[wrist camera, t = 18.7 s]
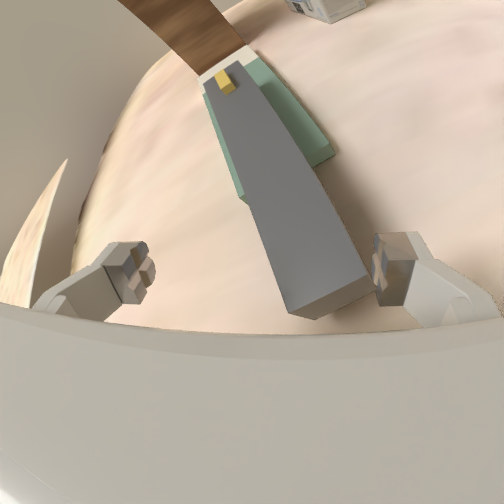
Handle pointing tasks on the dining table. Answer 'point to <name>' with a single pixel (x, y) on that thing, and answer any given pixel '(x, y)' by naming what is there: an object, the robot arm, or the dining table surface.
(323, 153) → the board
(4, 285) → the dining table surface
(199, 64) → the brown wooden block
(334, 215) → the grey rectangular bar
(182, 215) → the dining table surface
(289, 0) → the light bulb box
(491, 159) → the dining table surface
